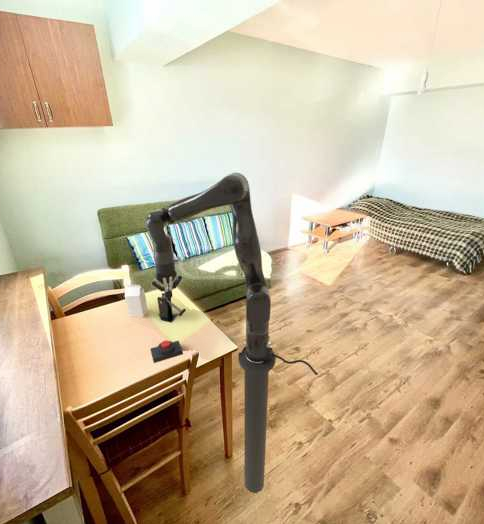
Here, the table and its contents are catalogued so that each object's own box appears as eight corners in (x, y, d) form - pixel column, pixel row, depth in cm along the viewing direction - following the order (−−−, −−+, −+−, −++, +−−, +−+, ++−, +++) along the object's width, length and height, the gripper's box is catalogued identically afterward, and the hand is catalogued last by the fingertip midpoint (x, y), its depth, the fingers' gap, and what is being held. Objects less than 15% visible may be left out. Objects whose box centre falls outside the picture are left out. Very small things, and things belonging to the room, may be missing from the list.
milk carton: (144, 320, 139) (137, 288, 130) (130, 320, 139) (122, 289, 130) (148, 311, 145) (142, 281, 136) (134, 312, 145) (127, 281, 136)
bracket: (179, 315, 143) (177, 293, 138) (171, 324, 136) (168, 301, 131) (162, 312, 146) (159, 290, 141) (153, 320, 139) (150, 298, 134)
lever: (184, 312, 139) (186, 309, 138) (179, 317, 134) (181, 314, 133) (163, 296, 139) (165, 293, 138) (158, 301, 135) (160, 298, 134)
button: (169, 342, 117) (168, 339, 117) (171, 347, 114) (170, 344, 114) (160, 345, 116) (160, 341, 115) (162, 350, 113) (162, 347, 112)
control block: (178, 344, 122) (178, 337, 120) (183, 354, 116) (182, 346, 114) (150, 352, 117) (149, 345, 116) (153, 363, 111) (152, 355, 110)
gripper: (148, 266, 104) (154, 306, 111) (183, 260, 109) (186, 298, 116) (145, 259, 110) (151, 297, 117) (178, 254, 115) (182, 290, 122)
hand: (169, 298), depth 116 cm, fingers closed
